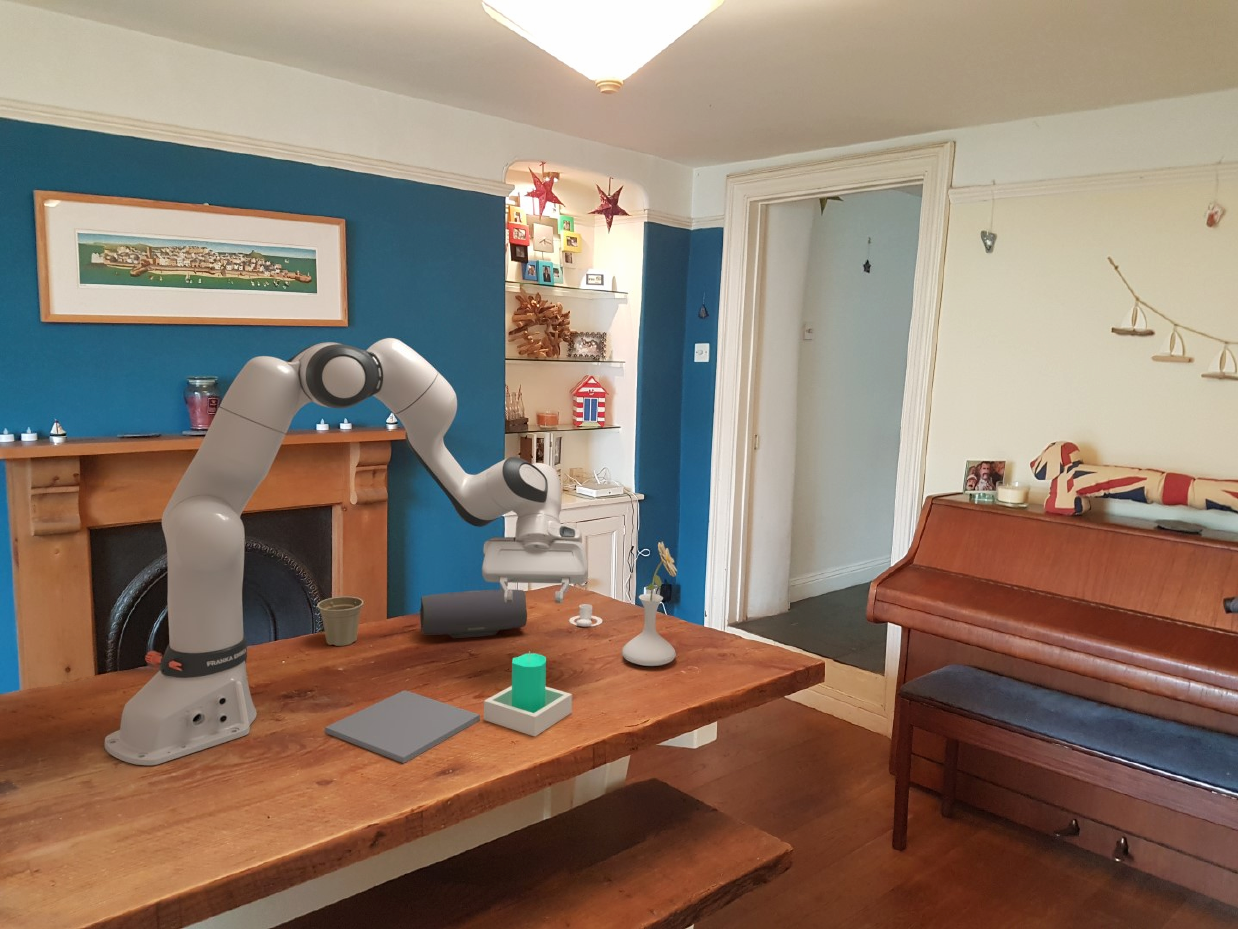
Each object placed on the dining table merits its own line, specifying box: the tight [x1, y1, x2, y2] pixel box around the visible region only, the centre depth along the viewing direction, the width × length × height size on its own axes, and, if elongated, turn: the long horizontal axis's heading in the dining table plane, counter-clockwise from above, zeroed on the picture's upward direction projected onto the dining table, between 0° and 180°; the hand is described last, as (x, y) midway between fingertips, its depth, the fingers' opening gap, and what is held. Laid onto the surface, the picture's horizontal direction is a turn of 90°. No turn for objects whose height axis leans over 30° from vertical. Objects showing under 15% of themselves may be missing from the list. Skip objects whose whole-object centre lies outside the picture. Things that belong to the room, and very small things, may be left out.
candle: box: [511, 650, 547, 713], centre depth 143 cm, size 6×6×12 cm
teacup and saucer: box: [568, 603, 603, 628], centre depth 195 cm, size 9×8×4 cm
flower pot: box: [316, 596, 364, 647], centre depth 176 cm, size 9×9×9 cm
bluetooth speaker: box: [419, 589, 528, 639], centre depth 183 cm, size 23×9×10 cm, turn 108°
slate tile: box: [324, 689, 481, 764], centre depth 139 cm, size 18×18×1 cm
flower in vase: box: [621, 541, 678, 667], centre depth 171 cm, size 13×11×25 cm
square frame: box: [483, 685, 573, 737], centre depth 144 cm, size 11×11×4 cm
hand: (533, 601), depth 153 cm, fingers open, 8 cm apart
